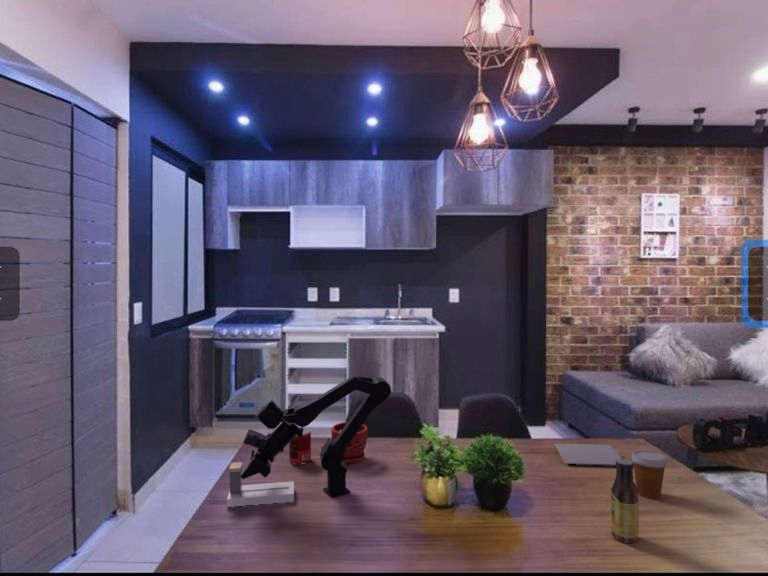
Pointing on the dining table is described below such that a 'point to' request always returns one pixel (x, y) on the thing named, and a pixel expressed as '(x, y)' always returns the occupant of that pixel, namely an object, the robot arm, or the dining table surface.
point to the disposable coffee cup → (649, 472)
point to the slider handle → (235, 477)
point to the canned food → (300, 448)
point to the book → (588, 454)
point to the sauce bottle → (624, 503)
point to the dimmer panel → (262, 494)
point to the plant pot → (352, 443)
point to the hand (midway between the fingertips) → (242, 477)
